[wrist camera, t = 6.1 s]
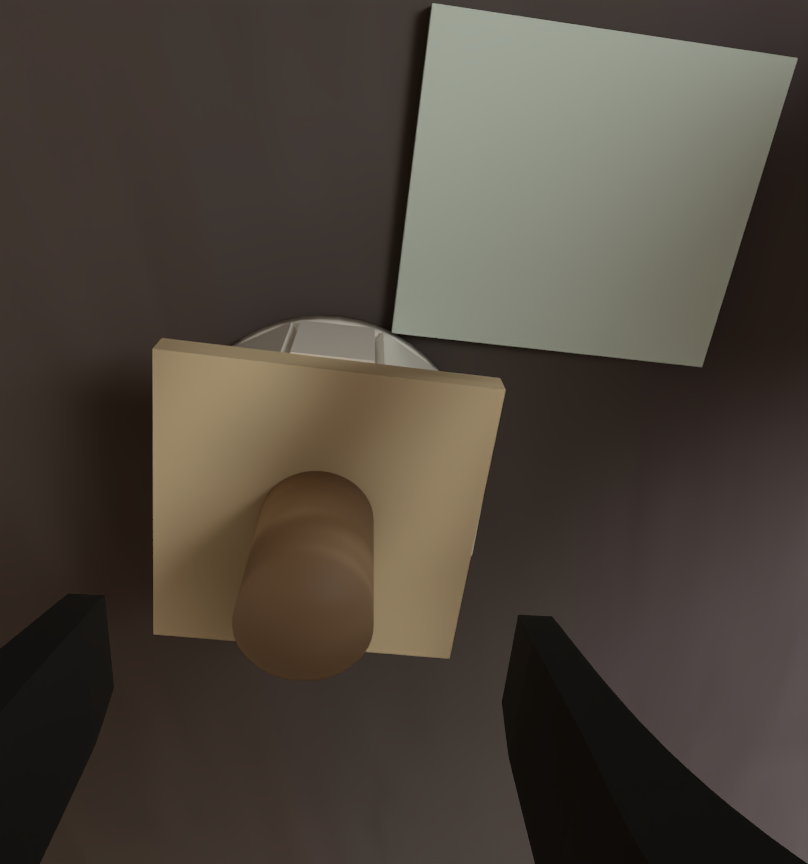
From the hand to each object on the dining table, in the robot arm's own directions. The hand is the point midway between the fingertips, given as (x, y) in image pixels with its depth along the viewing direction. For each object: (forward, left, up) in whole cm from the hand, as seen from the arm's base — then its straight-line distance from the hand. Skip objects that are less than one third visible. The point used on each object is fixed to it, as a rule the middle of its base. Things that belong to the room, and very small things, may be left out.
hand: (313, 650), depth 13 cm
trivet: (-6, -7, -10) cm, 13 cm away
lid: (0, +1, -6) cm, 6 cm away
